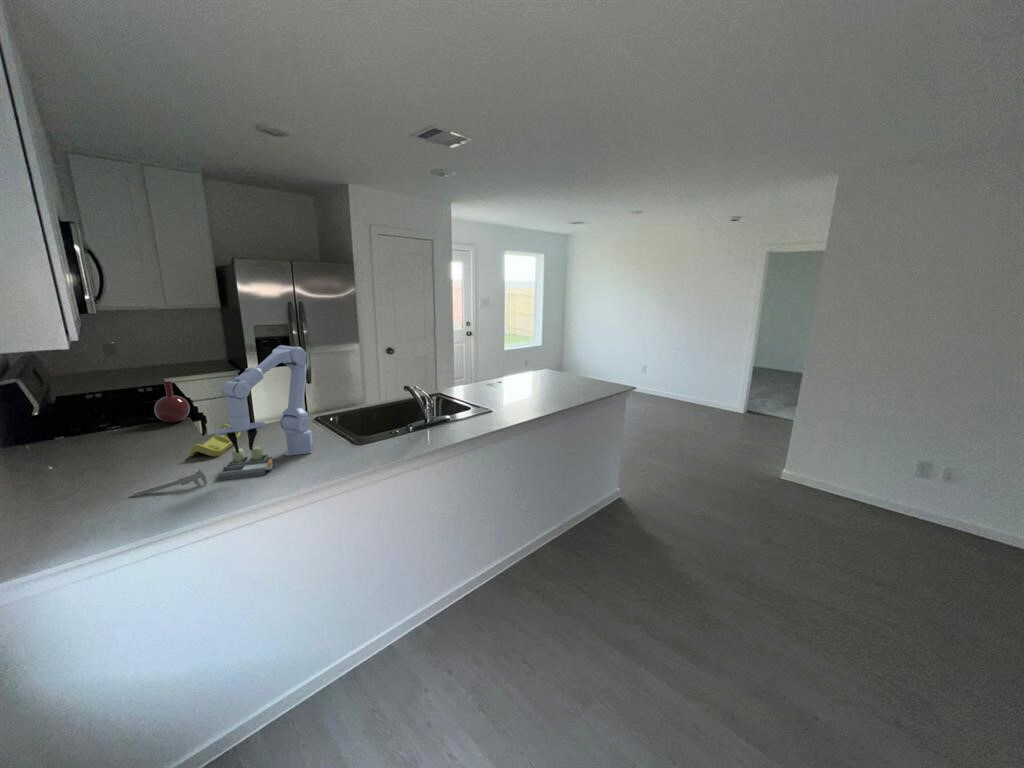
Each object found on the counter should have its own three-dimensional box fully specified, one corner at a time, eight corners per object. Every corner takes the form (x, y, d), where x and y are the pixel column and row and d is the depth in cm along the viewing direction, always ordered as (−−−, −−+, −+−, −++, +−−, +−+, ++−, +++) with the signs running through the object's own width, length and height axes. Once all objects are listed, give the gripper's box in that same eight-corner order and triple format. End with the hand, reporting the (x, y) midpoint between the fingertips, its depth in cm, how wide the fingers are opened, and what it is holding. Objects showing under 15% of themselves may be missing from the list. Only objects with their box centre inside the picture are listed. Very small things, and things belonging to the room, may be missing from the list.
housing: (272, 459, 158) (270, 443, 156) (264, 474, 145) (262, 457, 144) (230, 463, 153) (228, 447, 151) (219, 479, 141) (216, 461, 139)
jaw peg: (235, 462, 151) (233, 448, 150) (246, 461, 152) (244, 447, 151) (232, 466, 148) (230, 452, 147) (243, 465, 149) (241, 451, 148)
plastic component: (219, 452, 157) (192, 442, 155) (213, 467, 159) (186, 458, 157) (245, 431, 176) (221, 422, 173) (239, 444, 178) (216, 436, 175)
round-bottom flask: (181, 425, 190) (174, 385, 185) (150, 426, 187) (142, 385, 183) (197, 417, 202) (191, 378, 198) (168, 417, 200) (160, 379, 195)
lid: (272, 465, 150) (272, 458, 149) (270, 469, 147) (270, 462, 146) (245, 468, 147) (244, 461, 146) (242, 472, 144) (241, 465, 143)
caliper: (207, 484, 138) (204, 467, 136) (207, 485, 137) (204, 469, 135) (130, 496, 129) (126, 478, 127) (128, 498, 128) (124, 480, 126)
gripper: (260, 408, 147) (265, 442, 150) (212, 415, 138) (218, 451, 141) (264, 412, 142) (269, 448, 145) (214, 420, 133) (220, 458, 136)
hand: (244, 450), depth 143 cm, fingers open, 3 cm apart
